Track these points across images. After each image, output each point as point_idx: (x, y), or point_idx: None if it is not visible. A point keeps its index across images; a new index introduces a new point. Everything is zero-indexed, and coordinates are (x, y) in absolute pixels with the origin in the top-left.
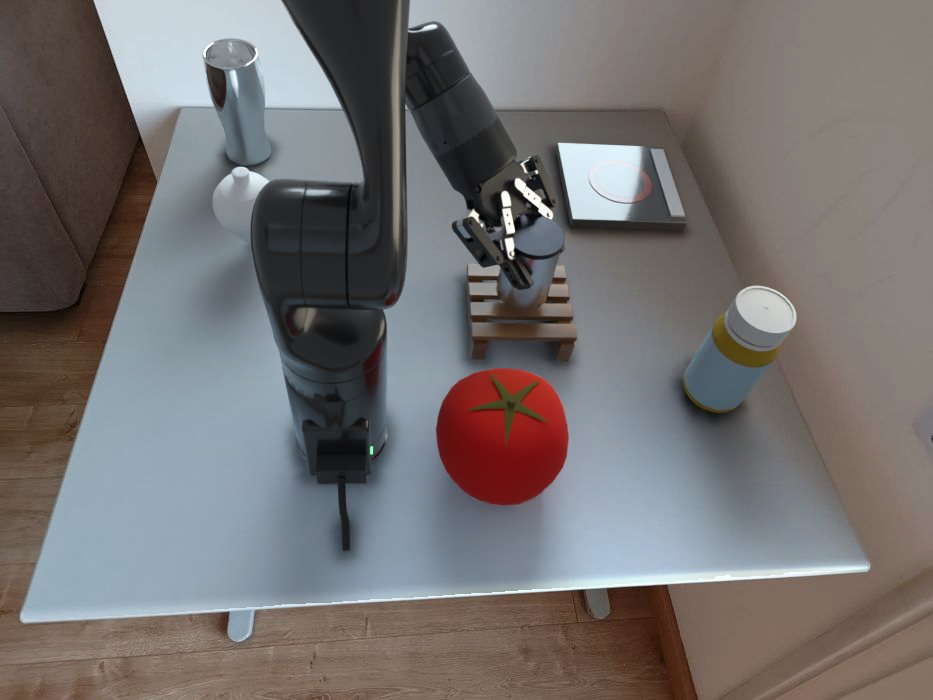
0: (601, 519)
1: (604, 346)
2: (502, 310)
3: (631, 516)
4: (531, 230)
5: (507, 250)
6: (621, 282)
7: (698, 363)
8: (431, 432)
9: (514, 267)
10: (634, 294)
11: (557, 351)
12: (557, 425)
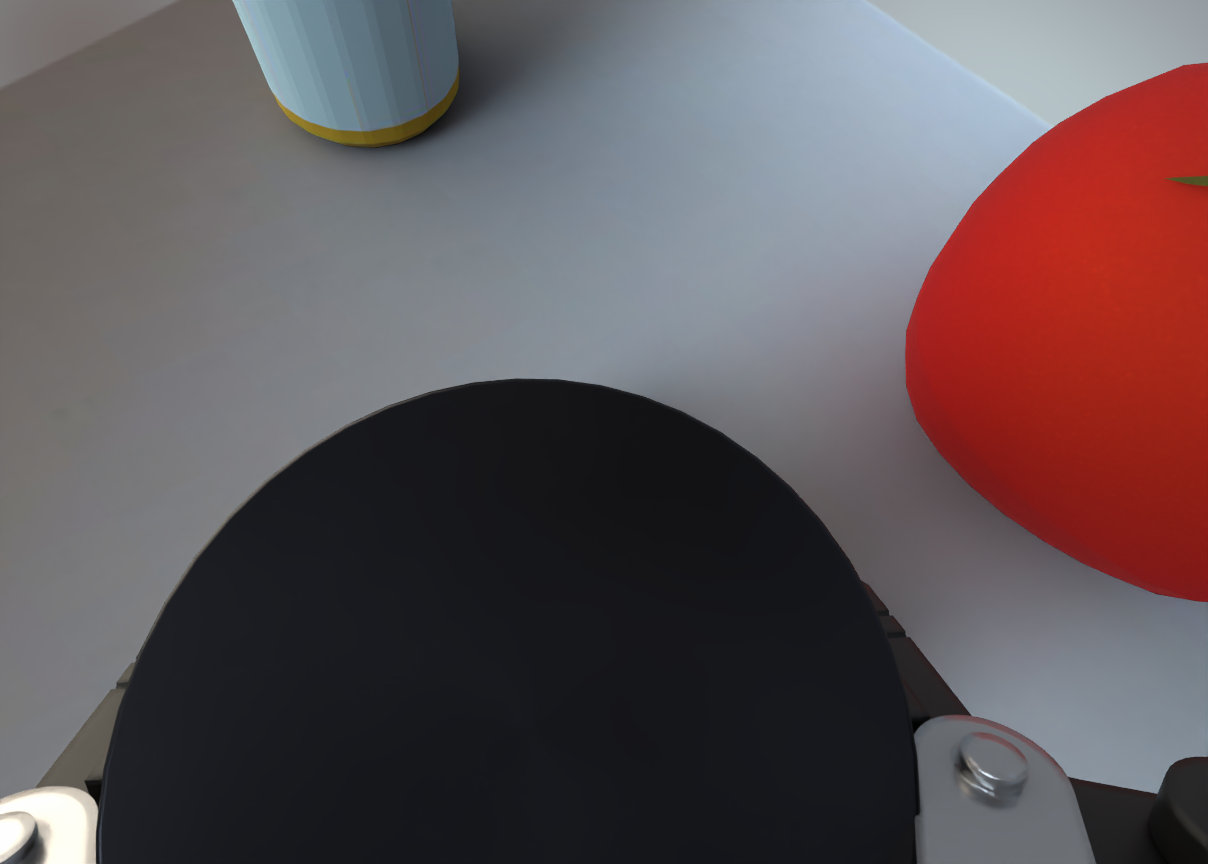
0: (917, 149)
1: (420, 382)
2: None
3: (854, 106)
4: (503, 831)
5: (1077, 831)
6: (46, 487)
7: (399, 4)
8: (1154, 642)
9: (912, 685)
10: (91, 416)
11: None
12: (1203, 68)
